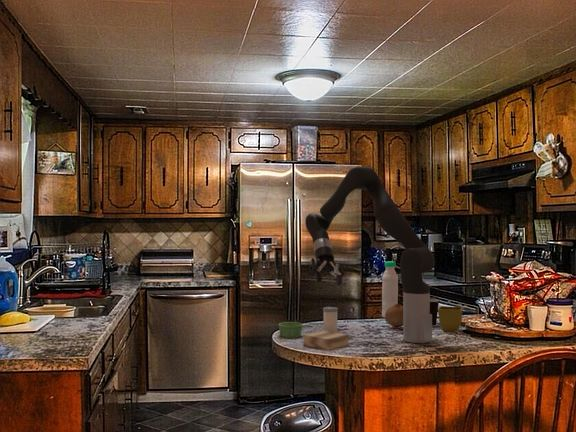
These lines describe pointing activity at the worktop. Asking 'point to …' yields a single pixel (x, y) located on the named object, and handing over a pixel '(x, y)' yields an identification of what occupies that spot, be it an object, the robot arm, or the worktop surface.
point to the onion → (395, 315)
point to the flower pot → (450, 318)
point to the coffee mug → (434, 310)
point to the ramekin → (290, 329)
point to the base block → (325, 340)
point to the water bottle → (389, 287)
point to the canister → (330, 319)
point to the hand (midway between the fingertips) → (329, 282)
